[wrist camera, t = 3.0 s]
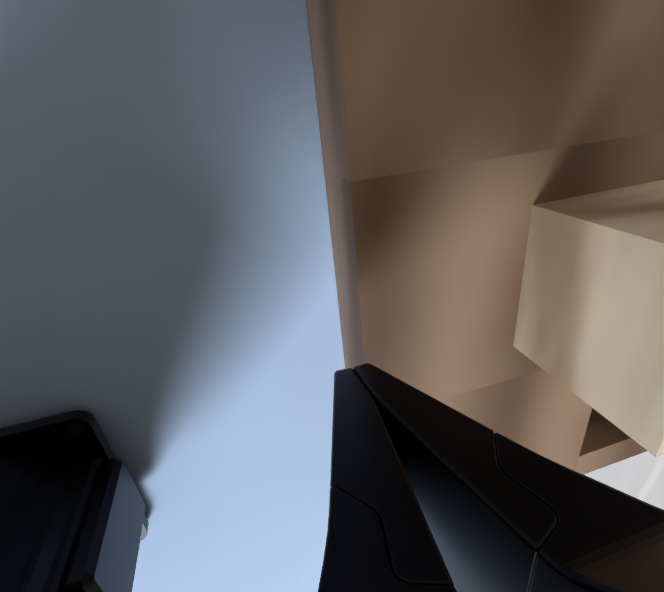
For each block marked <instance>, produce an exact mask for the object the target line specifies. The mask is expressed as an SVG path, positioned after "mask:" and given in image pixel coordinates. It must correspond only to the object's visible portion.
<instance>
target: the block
mask: <svg viewBox="0 0 664 592" xmlns="http://www.w3.org/2000/svg"><path fill="white" fill-rule="evenodd" d="M513 346H514V347H515V348H516V349H517V350H519V351H520V352H521V353H523V354H524V355H525V356H526V357H528V358H529V359H530V360H532V361H533V362H534V363H535V364H537V365H538V366H539V367H541V368H542V369H543V370H544V371H546V372H547V373H548V374H550V375H551V376H552V377H553V378H555V379H556V380H557V381H559V382H560V383H561V384H562V385H564V386H565V387H566V388H568V389H569V390H570V391H571V392H573V393H574V394H575V395H577V396H578V397H579V398H580V399H582V400H583V401H584V402H586V403H587V404H588V405H589V406H591V407H592V408H593V409H595V410H596V411H597V412H598V413H600V414H601V415H602V416H604V417H605V418H606V419H607V420H609V421H610V422H611V423H613V424H614V425H615V426H616V427H618V428H619V429H620V430H622V431H623V432H624V433H625V434H627V435H628V436H629V437H631V438H632V439H633V440H634V441H636V442H637V443H638V444H640V445H641V446H642V447H644V448H645V449H646V450H647V451H649V452H650V453H651V454H653V455H654V456H655V457H657V456H659V455H662V454H664V180H659V181H654V182H649V183H643V184H638V185H633V186H628V187H623V188H618V189H613V190H608V191H602V192H597V193H592V194H587V195H582V196H577V197H572V198H566V199H561V200H556V201H551V202H546V203H541V204H536V205H532V212H531V220H530V227H529V234H528V242H527V249H526V256H525V264H524V271H523V278H522V286H521V293H520V301H519V308H518V315H517V323H516V330H515V337H514V345H513Z"/></svg>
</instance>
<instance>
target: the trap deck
mask: <svg viewBox="0 0 664 592" xmlns="http://www.w3.org/2000/svg"><path fill="white" fill-rule="evenodd" d="M306 5H307V14H308V23H309V33H310V42H311V51H312V61H313V70H314V79H315V89H316V98H317V107H318V116H319V126H320V135H321V144H322V154H323V163H324V172H325V182H326V191H327V200H328V210H329V219H330V228H331V238H332V247H333V256H334V266H335V275H336V284H337V294H338V303H339V312H340V322H341V331H342V340H343V349H344V359H345V368H353V367H354V366H357V365H361V364H365V363H370V364H372V365H374V366H376V367H378V368H380V369H381V370H383V371H385V372H387V373H389V374H391V375H392V376H394V377H396V378H398V379H400V380H402V381H403V382H405V383H407V384H409V385H411V386H413V387H415V388H416V389H418V390H420V391H422V392H424V393H426V394H427V395H429V396H431V397H433V398H435V399H437V400H438V401H440V402H442V403H444V404H446V405H448V406H450V407H451V408H453V409H455V410H457V411H459V412H461V413H462V414H464V415H466V416H468V417H470V418H472V419H473V420H475V421H477V422H479V423H481V424H483V425H484V426H486V427H488V428H490V429H492V430H493V431H494V434H495V433H499V434H501V435H503V436H505V437H507V438H509V439H511V440H512V441H514V442H516V443H518V444H520V445H522V446H524V447H526V448H528V449H530V450H532V451H534V452H536V453H538V454H539V455H541V456H544V457H546V458H548V459H550V460H552V461H554V462H556V463H559V464H561V465H563V466H565V467H567V468H569V469H571V470H574V471H576V472H578V473H580V474H586V473H589V472H591V471H594V470H597V469H600V468H602V467H605V466H608V465H610V464H613V463H616V462H618V461H621V460H624V459H627V458H629V457H632V456H635V455H637V454H640V453H643V452H646V451H647V450H646V449H645V448H644V447H642V446H641V445H640V444H638V443H637V442H636V441H634V440H633V439H632V438H631V437H629V436H628V435H627V434H625V433H624V432H623V431H622V430H620V429H619V428H618V427H616V426H615V425H614V424H613V423H611V422H610V421H609V420H607V419H606V418H605V417H604V416H602V415H601V414H600V413H598V412H597V411H596V410H595V409H593V408H592V407H591V406H589V405H588V404H587V403H586V402H584V401H583V400H582V399H580V398H579V397H578V396H577V395H575V394H574V393H573V392H571V391H570V390H569V389H568V388H566V387H565V386H564V385H562V384H561V383H560V382H559V381H557V380H556V379H555V378H553V377H552V376H551V375H550V374H548V373H547V372H546V371H544V370H543V369H542V368H541V367H539V366H538V365H537V364H535V363H534V362H533V361H532V360H530V359H529V358H528V357H526V356H525V355H524V354H523V353H521V352H520V351H519V350H517V349H516V348H515V347H514V346H513V345H514V337H515V330H516V323H517V315H518V308H519V301H520V293H521V286H522V278H523V271H524V264H525V256H526V249H527V242H528V234H529V227H530V220H531V212H532V205H536V204H541V203H546V202H551V201H556V200H561V199H566V198H572V197H577V196H582V195H587V194H592V193H597V192H602V191H608V190H613V189H618V188H623V187H628V186H633V185H638V184H643V183H649V182H654V181H659V180H664V0H306Z"/></svg>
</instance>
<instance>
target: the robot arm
mask: <svg viewBox="0 0 664 592" xmlns="http://www.w3.org/2000/svg"><path fill="white" fill-rule="evenodd" d="M71 425H79V426H81V427H82V428H78V429H77V428H74V427H72V426H71ZM330 486H331V488H330V505H329V519H328V532H327V539H326V546H325V553H324V560H323V566H322V572H321V577H320V583H319V588H318V592H664V510H663V509H660V508H658V507H655V506H653V505H650V504H648V503H646V502H643V501H641V500H639V499H637V498H634V497H632V496H630V495H628V494H625V493H623V492H621V491H619V490H616V489H614V488H612V487H610V486H607V485H605V484H603V483H601V482H598V481H596V480H594V479H592V478H589V477H587V476H585V475H583V474H580V473H578V472H576V471H574V470H571V469H569V468H567V467H565V466H563V465H561V464H559V463H556V462H554V461H552V460H550V459H548V458H546V457H544V456H541V455H539V454H538V453H536V452H534V451H532V450H530V449H528V448H526V447H524V446H522V445H520V444H518V443H516V442H514V441H512V440H511V439H509V438H507V437H505V436H503V435H501V434H499V433H495V434H494V431H493V430H492V429H490V428H488V427H486V426H484V425H483V424H481V423H479V422H477V421H475V420H473V419H472V418H470V417H468V416H466V415H464V414H462V413H461V412H459V411H457V410H455V409H453V408H451V407H450V406H448V405H446V404H444V403H442V402H440V401H438V400H437V399H435V398H433V397H431V396H429V395H427V394H426V393H424V392H422V391H420V390H418V389H416V388H415V387H413V386H411V385H409V384H407V383H405V382H403V381H402V380H400V379H398V378H396V377H394V376H392V375H391V374H389V373H387V372H385V371H383V370H381V369H380V368H378V367H376V366H374V365H372V364H370V363H365V364H361V365H357V366H354V367H353V368H346V369H342V370H338V371H336V372H335V374H334V399H333V427H332V455H331V483H330ZM144 513H145V503H144V501H143V499H142V497H141V495H140V493H139V491H138V489H137V487H136V485H135V483H134V481H133V479H132V477H131V475H130V473H129V471H128V469H127V467H126V465H125V463H124V462H123V461H122V460H120V459H119V458H115V456H114V454H113V452H112V450H111V448H110V446H109V444H108V442H107V440H106V438H105V436H104V434H103V432H102V431H101V429H100V427H99V425H98V423H97V421H96V419H95V418H94V416H93V415H92V414H90V413H88V412H86V411H80V410H79V411H71V412H67V413H63V414H59V415H55V416H51V417H47V418H43V419H39V420H35V421H31V422H27V423H23V424H19V425H15V426H11V427H7V428H3V429H0V592H132V587H133V581H134V574H135V568H136V562H137V556H138V550H139V544H140V541H141V540H143V539H144V538H145V537H146V535H147V531H148V520H147V518H146V516H145V514H144Z"/></svg>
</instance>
